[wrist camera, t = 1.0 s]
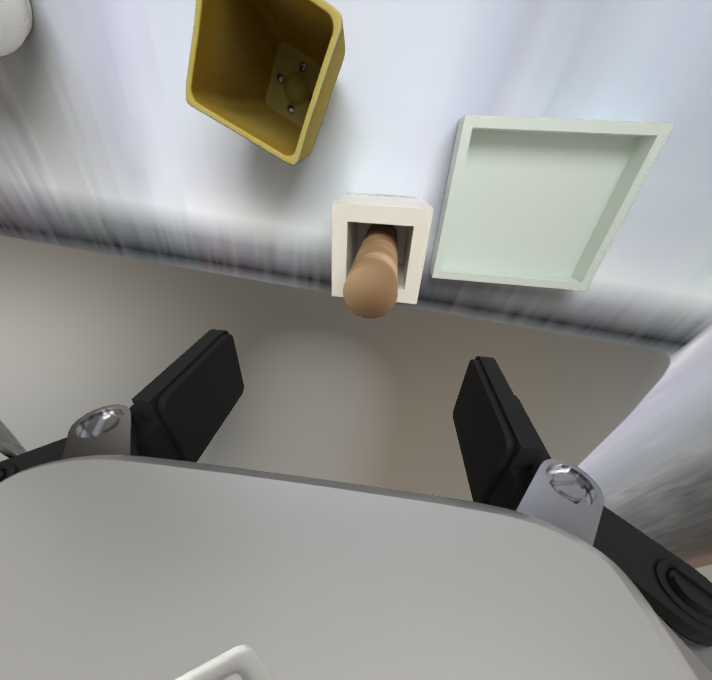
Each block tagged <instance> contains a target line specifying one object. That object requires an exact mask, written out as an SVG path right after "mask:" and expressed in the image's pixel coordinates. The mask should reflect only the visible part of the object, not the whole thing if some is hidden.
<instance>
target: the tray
mask: <svg viewBox="0 0 712 680" xmlns="http://www.w3.org/2000/svg"><path fill="white" fill-rule="evenodd" d="M674 125H675V123H656V122H631V121H606V120H582V119H557V118H532V117H507V116H482V115H465V116H463V117H462V118H460V119H459V123H458V128H457V133H456V138H455V143H454V148H453V153H452V158H451V164H450V169H449V174H448V179H447V184H446V189H445V194H444V199H443V204H442V210H441V215H440V220H439V225H438V230H437V235H436V240H435V245H434V250H433V256H432V261H431V266H430V272H431V275H432V278H441V279H453V280H464V281H476V282H487V283H499V284H510V285H522V286H533V287H545V288H556V289H568V290H579V291H586V290H587V288H588V286H589V284H590V282H591V280H592V279H593V277H594V275H595V273H596V271H597V269H598V267H599V265H600V264H601V262H602V260H603V258H604V256H605V254H606V252H607V250H608V249H609V247H610V245H611V243H612V241H613V239H614V237H615V235H616V234H617V232H618V230H619V228H620V226H621V224H622V222H623V220H624V218H625V217H626V215H627V213H628V211H629V209H630V207H631V205H632V203H633V202H634V200H635V198H636V196H637V194H638V192H639V190H640V188H641V187H642V185H643V183H644V181H645V179H646V177H647V175H648V173H649V172H650V170H651V168H652V166H653V164H654V162H655V160H656V158H657V157H658V155H659V153H660V151H661V149H662V147H663V145H664V143H665V142H666V140H667V138H668V136H669V134H670V132H671V130H672V128H673V127H674Z"/></svg>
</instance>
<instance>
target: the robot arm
mask: <svg viewBox="0 0 712 680" xmlns="http://www.w3.org/2000/svg"><path fill="white" fill-rule="evenodd" d="M243 390H244V384H243V380H242V375H241V371H240V367H239V362H238V357H237V353H236V348H235V344H234V339H233V337H232V335H229V333H228V331H225V330H215V329H212V330H209V331H208V332H207V333H206V334H205V335H204V336H203V337H202V338H201V339H199V340H198V341H197V342H196V343H195V344H194V345H193V346H191V347H190V348H189V349H188V350H187V351H186V352H185V353H184V354H182V355H181V356H180V357H179V358H178V359H177V360H176V361H174V363H172V364H171V365H170V366H169V367H168V368H166V369H165V370H164V371H163V372H162V373H161V374H160V375H159V376H158V377H156V378H155V379H154V380H153V381H152V382H151V383H150V384H149V385H147V386H146V387H145V388H144V389H143V390H142V391H141V392H140V393H138V394H137V395H136V396H135V397H134V398H133V399H132V401H133V403H134V405H132V406H131V407H130V408H128V407H127V406H124V405H119V404H118V405H108V406H104V407H101V408H98V409H95V410H93V411H91V412H89V413H87V414H86V415H84V416H83V417H81V418H80V419H78V420H77V421H76V422H75V423H74V424H73V425H72V426H71V428H70V430H69V432H68V436H67V438H64V439H61V440H59V441H56V442H53V443H51V444H48V445H45V446H42V447H40V448H37V449H34V450H31V451H28V452H26V453H23V454H20V455H17V456H15V457H12V458H9V459H7V460H4V461H1V462H0V680H712V583H711V582H710V581H709V580H707V578H706V577H704V576H703V575H702V574H700V573H699V572H697V570H695V569H694V568H693V567H691V566H690V565H688V564H687V563H686V562H684V561H683V560H681V559H680V558H678V557H677V556H675V555H674V554H673V553H671V552H670V551H668V550H667V549H665V548H664V547H662V546H661V545H660V544H658V543H657V542H655V541H654V540H652V539H651V538H649V537H648V536H647V535H645V534H644V533H642V532H641V531H639V530H638V529H636V528H635V527H634V526H632V525H631V524H629V523H628V522H626V521H625V520H623V519H622V518H620V517H619V516H618V515H616V514H615V513H613V512H612V511H610V510H609V509H607V508H606V507H605V506H604V496H603V494H602V492H601V489H600V488H599V486H598V485H597V484H596V482H595V481H594V480H593V479H592V478H591V477H590V476H589V475H588V474H587V473H586V472H584V471H583V470H581V469H580V468H578V467H577V466H575V465H573V464H571V463H569V462H566V461H563V460H559V459H551V457H550V456H549V454H548V452H547V450H546V448H545V446H544V445H543V443H542V441H541V439H540V437H539V435H538V434H537V432H536V430H535V428H534V426H533V425H532V423H531V421H530V419H529V417H528V415H527V413H526V412H525V410H524V408H523V406H522V404H521V403H520V401H519V399H518V398H517V397H516V396H515V395H514V394H513V392H512V391H511V388H510V387H509V385H508V383H507V381H506V379H505V377H504V375H503V374H502V372H501V370H500V368H499V366H498V364H497V362H496V360H495V359H494V358H490V357H480V356H477V357H476V358H475V360H470V362H469V365H468V368H467V371H466V374H465V377H464V380H463V383H462V386H461V389H460V392H459V395H458V398H457V401H456V404H455V408H454V411H453V420H454V424H455V427H456V432H457V436H458V440H459V444H460V449H461V453H462V457H463V461H464V465H465V469H466V473H467V478H468V482H469V486H470V490H471V494H472V498H473V501H474V502H471V501H465V500H458V499H453V498H446V497H440V496H434V495H428V494H421V493H414V492H406V491H399V490H392V489H386V488H378V487H371V486H365V485H358V484H350V483H343V482H337V481H329V480H322V479H315V478H308V477H301V476H293V475H286V474H279V473H271V472H264V471H257V470H248V469H242V468H233V467H226V466H219V465H211V464H204V463H196V462H197V461H198V459H199V458H200V456H201V455H202V453H203V452H204V450H205V449H206V447H207V446H208V444H209V443H210V441H211V440H212V438H213V437H214V435H215V434H216V432H217V431H218V429H219V428H220V426H221V425H222V423H223V422H224V420H225V419H226V417H227V416H228V414H229V413H230V411H231V410H232V408H233V407H234V405H235V404H236V402H237V401H238V399H239V398H240V396H241V395H242V393H243Z"/></svg>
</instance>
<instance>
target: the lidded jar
mask: <svg viewBox="0 0 712 680" xmlns="http://www.w3.org/2000/svg"><path fill="white" fill-rule="evenodd" d="M32 25H33V14H32V8H31V3H30V0H0V56H4V55H8V54H11V53H12V52H14V51H15V50H17V49H18V48H19V47H20V46H21V45H22V43H23V42H24V40H25V38H26V37H28V35H29V34H30V32H31V30H32Z"/></svg>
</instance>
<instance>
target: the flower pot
mask: <svg viewBox="0 0 712 680" xmlns="http://www.w3.org/2000/svg"><path fill="white" fill-rule="evenodd" d="M344 55H345V41H344V31H343V22H342V16H341V14H340V12H339V11H338V10H337V9H336V8H334V7H333V6H332V5H330V4H329V3H327V2H326V1H325V0H196V9H195V20H194V28H193V36H192V44H191V51H190V58H189V66H188V75H187V81H186V101H187V103H188V104H189V105H191V106H192V107H194V108H195V109H197V110H199V111H200V112H202V113H204V114H206V115H207V116H209V117H211V118H212V119H214V120H216V121H217V122H219V123H221V124H223V125H224V126H226V127H228V128H229V129H231V130H233V131H234V132H236V133H238V134H240V135H241V136H243V137H244V138H246V139H248V140H249V141H251V142H253V143H254V144H256V145H258V146H260V147H261V148H263V149H265V150H266V151H268V152H269V153H271V154H273V155H275V156H276V157H278V158H279V159H281V160H283V161H284V162H286V163H288V164H290V165H295V164H296V163H298V162H300V161H301V160H303V159H304V158H306V157H307V156H308V155H309V154H310V153H311V151H312V149H313V146H314V143H315V140H316V137H317V134H318V131H319V128H320V125H321V122H322V119H323V116H324V113H325V110H326V108H327V105H328V102H329V99H330V96H331V93H332V91H333V88H334V85H335V82H336V79H337V77H338V74H339V71H340V68H341V66H342V63H343V59H344ZM302 63H304V64H305V65H306V71H304V72H302V71H301V69H300V65H301V64H302ZM279 75H283V77H284V81H283V82H282V83H280V82H279V80H278V76H279ZM311 96H312V99H311V101H310V97H311ZM289 106H293V107H294V112H293V113H290V112H289V110H288V108H289Z"/></svg>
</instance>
